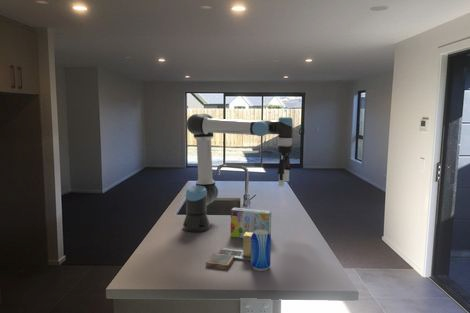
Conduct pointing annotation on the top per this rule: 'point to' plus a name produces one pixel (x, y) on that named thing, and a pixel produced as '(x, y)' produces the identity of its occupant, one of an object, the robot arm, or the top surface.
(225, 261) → the pad
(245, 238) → the brass rectangular block
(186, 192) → the robot arm
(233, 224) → the snack box
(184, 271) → the top surface
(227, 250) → the grey slotted plate
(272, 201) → the top surface
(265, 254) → the beer can
